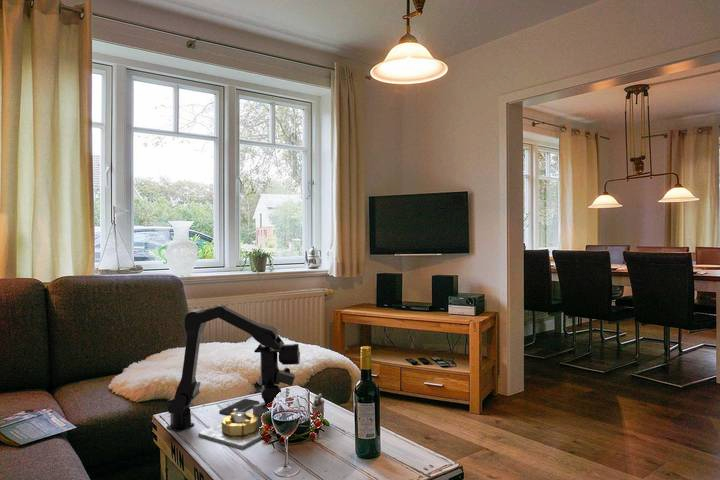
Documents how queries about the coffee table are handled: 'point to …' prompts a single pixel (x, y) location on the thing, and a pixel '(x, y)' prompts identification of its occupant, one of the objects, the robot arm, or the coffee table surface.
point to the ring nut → (248, 424)
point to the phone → (239, 406)
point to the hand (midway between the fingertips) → (269, 410)
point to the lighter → (318, 405)
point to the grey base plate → (232, 440)
